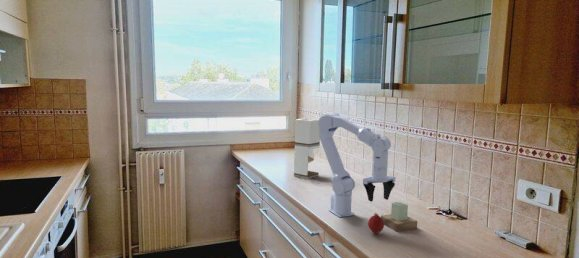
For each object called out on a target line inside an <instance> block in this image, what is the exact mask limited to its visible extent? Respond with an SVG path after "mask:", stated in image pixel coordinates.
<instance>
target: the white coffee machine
mask: <svg viewBox="0 0 579 258" xmlns="http://www.w3.org/2000/svg"><path fill="white" fill-rule="evenodd" d="M294 121H295V125H294V155H293V157H294V158H293V159H294V160H293V162H294V163H293V164H294V166H293V177H295V176H296V177H297V178H301V179H305V178H306V180H310V179H313V178H312V177H314V178H316V177H315V176H317V177H319V176H318V175H319V172H318V171H317V172H316V171H311V170H309V169H308V168H309V163H311V162H313V161H315V160H314V159H315V149H319V148H321V147H320V145H321V140H320V138H319V125H318V121H319V119H312V120H311V119H309V120H308V117H307V118H297V119H295V120H294ZM296 177H295V178H296Z"/></svg>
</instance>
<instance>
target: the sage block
mask: <svg viewBox="0 0 579 258" xmlns="http://www.w3.org/2000/svg"><path fill="white" fill-rule="evenodd" d="M408 207H409V204H407V203H405V202H402V201H395V202H391V210H390V211H391V213H390V214H391V217H392V218H394V219H395V220H397V221H401V220H407V216H408V210H409V208H408Z"/></svg>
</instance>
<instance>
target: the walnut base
mask: <svg viewBox="0 0 579 258" xmlns="http://www.w3.org/2000/svg"><path fill="white" fill-rule="evenodd" d="M380 217H381V218H382V220H383V222H384V226H385V227H388V228H390V229H391V230H393V231H395V232H396V233H397V232H402V231H409V230H415V229H418V220H416V219H414V218H412V217H410V216H408V215H407V220H401V221H397V220H395V219H394V218H392V217H391V213H389V214H383V215H380Z"/></svg>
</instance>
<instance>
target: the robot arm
mask: <svg viewBox="0 0 579 258" xmlns="http://www.w3.org/2000/svg"><path fill="white" fill-rule="evenodd" d="M318 120H319V121H318V125H319V138H320V144H321V146H322V148H323V151H324V153H325V154H324V155H325V156H326V159H327V162H328V164H329V166H330V170H331V171H332V172H331V173H332V176H331V179H330V180H331V184H332V185H331V186H332V190H333V192H332V193H331V196H330V208H328V211H329V212H330V213H332V214H334V215H335V216H337V217H338V218H341V217H343V218H344V217H351V216H355V215H356V213H354V212H352V199H353V198H352V196H353V194H352V193H353V190H354V189H355V187H356V183H355V180H354V178H352V176H351V174H350V173H349V172H348V171H347V170H346V168H345V167H344V164H343V161H342V159H341V155H340V154H339V151H338V148H337V145H336V142H335V140H334V137H333V135H334V134H335V132H336V131H337V130H338V128H342V129H344V130H346V131H347V132H350V133H351V134H354V135H355V136H357V139H358V141H360V142H362V143H363V144H365V145H367V146H369V147H370V148H371V150H372V151H373V154H372V155H373V156H372V175H371V176H370V177H366V178H362V184H363V187H364V189H365V192H366V194H367V199H368V201H369V202H370V203H371V202H373V200H374V193H375V190H376V189H375V188H376V185H374V184H380V183H382V186H383V199H384V200H386V201H387V200H389V198H390V194H391V192H392V191H393V189H394V187H395V186H396V183H395V182H396V176H394V175H391V176H390V175H389V176H388V165H389V163H388V162H389V161H388V160H389V149H391V147H392V146H391V145H392V144H391V139H389V138H388V137H387V136H381V134H379V133H376V132H374V131H373V130H372V129H371V128H370V127H363V128H362V127H360V126H359V125H357V124H355V123H353V122H352V121H350V120H348V119H347V118H346V117H345V116H343V115H340V114H339V113H329V114H327V113H323V114H322V115H321V116H320V117H319V119H318Z"/></svg>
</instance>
